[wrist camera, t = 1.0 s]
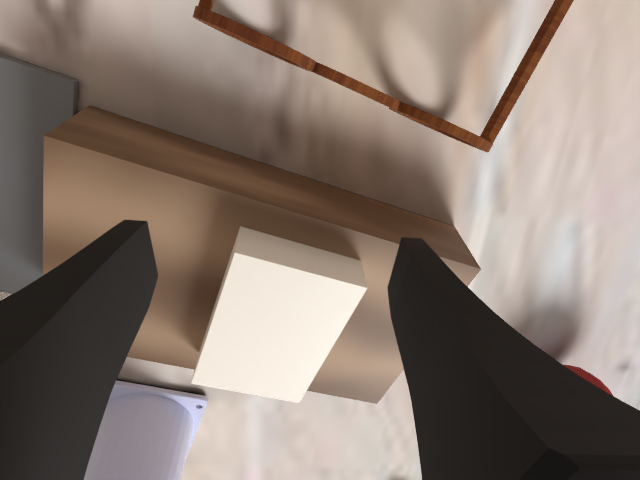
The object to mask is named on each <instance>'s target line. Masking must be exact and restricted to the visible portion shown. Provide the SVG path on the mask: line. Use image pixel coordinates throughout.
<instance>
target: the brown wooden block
mask: <svg viewBox="0 0 640 480" xmlns="http://www.w3.org/2000/svg"><path fill="white" fill-rule="evenodd" d="M123 220H139V221H147V222H148V227H149V232H150V237H151V242H152V247H153V252H154V257H155V261H156V266H157V271H158V279H157V283H156V286H155V290H154V293H153V296H152V300H151V303H150V306H149V309H148V311H147V313H146V315H145V318H144V320H143V322H142V324H141V327H140V329H139V331H138V333H137V335H136V338H135V340H134V342H133V344H132V346H131V348H130V351H129V353H128V355H127V357H131V358H137V359H142V360H147V361H153V362H158V363H163V364H168V365H174V366H179V367H184V368H190V369H195V367H196V363H197V359H198V355H199V351H200V348H201V345H202V342H203V339H204V336H205V333H206V330H207V327H208V324H209V321H210V317H211V314H212V311H213V308H214V305H215V302H216V299H217V296H218V293H219V290H220V287H221V284H222V281H223V278H224V275H225V272H226V268H227V265H228V262H229V259H230V256H231V253H232V250H233V247H234V244H235V241H236V238H237V235H238V232H239V229H240V226H241V227H245V228H248V229H252V230H255V231H259V232H262V233H266V234H269V235H273V236H276V237H280V238H283V239H287V240H290V241H294V242H297V243H301V244H304V245H308V246H311V247H315V248H318V249H322V250H325V251H329V252H332V253H336V254H339V255H343V256H346V257H350V258H353V259H357V260H360V261H361V262H362V267H363V271H364V275H365V280H366V284H367V290H366V291H365V293H364V295H363V296H362V298H361V300H360V302H359V303H358V305H357V307H356V308H355V310H354V312H353V313H352V315H351V317H350V318H349V320H348V322H347V323H346V325H345V327H344V328H343V330H342V332H341V334H340V335H339V337H338V339H337V340H336V342H335V344H334V345H333V347H332V349H331V350H330V352H329V354H328V355H327V357H326V359H325V361H324V362H323V364H322V366H321V367H320V369H319V371H318V372H317V374H316V376H315V377H314V379H313V381H312V382H311V384H310V386H309V387H308V389H307V391H312V392H317V393H323V394H328V395H333V396H338V397H344V398H349V399H354V400H360V401H365V402H370V403H376V404H377V403H378V402H379V400H380V399H381V398H382V397H383V395H384V394H385V393H386V391H387V390H388V389H389V388H390V386H391V385H392V384H393V382H394V381H395V380H396V378H397V377H398V376H399V375H400V373H401V372H402V371H403V369H404V367H403V363H402V360H401V356H400V352H399V348H398V344H397V340H396V336H395V332H394V328H393V324H392V320H391V315H390V307H389V298H388V289H387V287H388V284H389V280H390V276H391V273H392V269H393V266H394V262H395V259H396V255H397V251H398V248H399V244H400V241H401V237H407V238H422V239H423V240H424V241H425V242H426V243H427V244H428V245H429V246H430V247H431V248H432V250H433V251H434V252H435V253H436V254H437V255H438V256H439V257H440V258H441V259H442V261H443V262H444V263H445V264H446V265H447V266H448V267H449V268H450V269H451V270H452V271H453V272H454V273H455V275H456V276H457V277H458V278H459V279H460V280H461V281H462V282H463V283H464V284H465V285H466V286H467V287H468V285H469V284H470V283H471V281H472V280H473V279H474V277H475V276H476V275H477V274H478V272H479V271H480V270H481V268H480V267H479V265H478V264H477V262H476V260H475V259H474V257H473V256H472V254H471V252H470V251H469V249H468V248H467V246H466V244H465V243H464V241H463V240H462V238H461V236H460V235H459V233H458V232H457V230H456V228H455V227H454V226H451V225H448V224H445V223H442V222H439V221H436V220H433V219H430V218H427V217H424V216H421V215H418V214H415V213H412V212H409V211H406V210H403V209H400V208H397V207H394V206H391V205H388V204H385V203H382V202H379V201H376V200H373V199H370V198H367V197H364V196H361V195H358V194H354V193H351V192H348V191H345V190H342V189H339V188H336V187H333V186H330V185H327V184H324V183H321V182H318V181H315V180H312V179H309V178H306V177H303V176H300V175H297V174H294V173H291V172H288V171H285V170H282V169H279V168H276V167H273V166H270V165H267V164H264V163H261V162H258V161H255V160H252V159H249V158H246V157H243V156H240V155H237V154H234V153H231V152H228V151H225V150H222V149H219V148H216V147H213V146H209V145H206V144H203V143H200V142H197V141H194V140H191V139H188V138H185V137H182V136H179V135H176V134H173V133H170V132H167V131H164V130H161V129H158V128H155V127H152V126H149V125H146V124H143V123H140V122H137V121H134V120H131V119H128V118H125V117H122V116H119V115H116V114H113V113H110V112H107V111H104V110H101V109H98V108H95V107H92V106H88V107H86V108H85V109H83V110H82V111H80V112H78V113H77V114H75V115H74V116H72V117H71V118H69V119H68V120H66V121H65V122H63V123H62V124H60V125H59V126H57V127H56V128H54V129H53V130H51V131H50V132H48V133H47V134H45V135H44V172H43V275H44V274H46V273H48V272H49V271H51V270H52V269H54V268H55V267H57V266H59V265H60V264H62V263H63V262H65V261H66V260H67V259H69V258H70V257H72V256H73V255H75V254H76V253H77V252H79V251H80V250H82V249H83V248H85V247H86V246H87V245H89V244H90V243H92V242H93V241H94V240H96V239H97V238H99V237H100V236H101V235H103V234H104V233H106V232H107V231H108V230H110V229H111V228H113V227H114V226H116V225H117V224H118V223H120V222H122V221H123Z"/></svg>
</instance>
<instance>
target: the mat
mask: <svg viewBox="0 0 640 480" xmlns="http://www.w3.org/2000/svg"><path fill="white" fill-rule="evenodd" d="M77 96H78V80H76V79H73V78H70V77H67V76H64V75H62V74H59V73H56V72H53V71H50V70H47V69H44V68H41V67H38V66H35V65H32V64H30V63H27V62H24V61H21V60H18V59H15V58H12V57H9V56H6V55H3V54H0V291H3V292H7V293H12V294H14V293H16V292H17V291H19V290H21V289H22V288H24V287H26V286H27V285H29V284H30V283H32V282H34V281H35V280H37V279H38V278H40V277H41V276H43V172H44V135H45V134H47V133H48V132H50V131H51V130H53V129H54V128H56V127H57V126H59V125H60V124H62V123H63V122H65V121H66V120H68V119H69V118H71V117H72V116H74V115H75V114H77Z"/></svg>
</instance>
